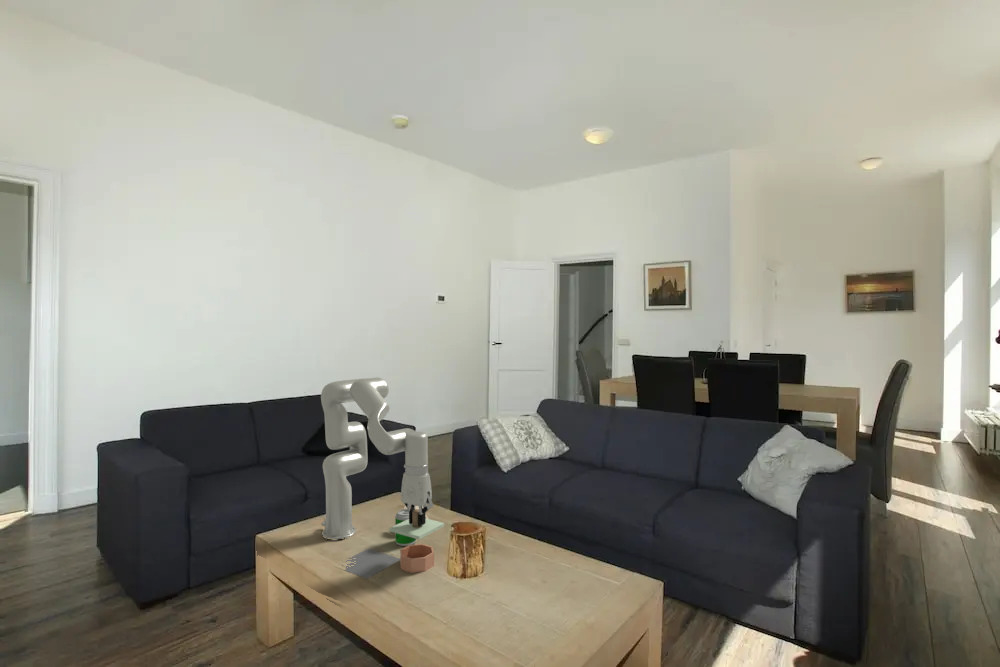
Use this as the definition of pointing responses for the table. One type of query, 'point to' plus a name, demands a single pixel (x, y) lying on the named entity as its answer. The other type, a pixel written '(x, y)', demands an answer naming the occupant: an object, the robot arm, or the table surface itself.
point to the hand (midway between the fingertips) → (417, 523)
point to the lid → (416, 527)
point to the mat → (370, 563)
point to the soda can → (400, 539)
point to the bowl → (417, 558)
